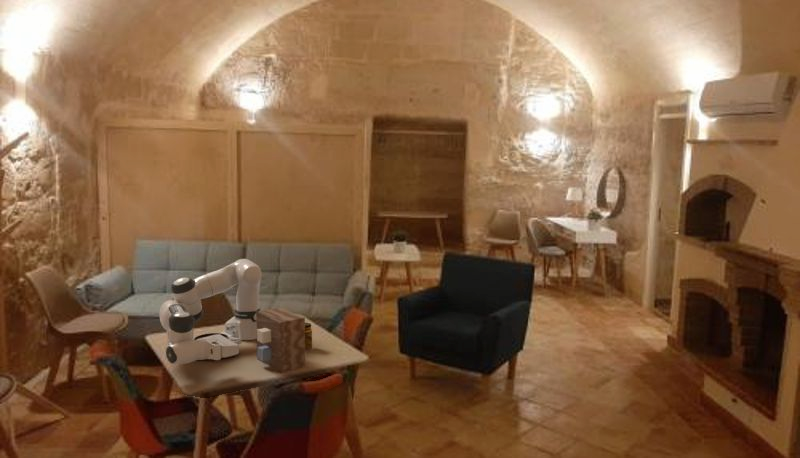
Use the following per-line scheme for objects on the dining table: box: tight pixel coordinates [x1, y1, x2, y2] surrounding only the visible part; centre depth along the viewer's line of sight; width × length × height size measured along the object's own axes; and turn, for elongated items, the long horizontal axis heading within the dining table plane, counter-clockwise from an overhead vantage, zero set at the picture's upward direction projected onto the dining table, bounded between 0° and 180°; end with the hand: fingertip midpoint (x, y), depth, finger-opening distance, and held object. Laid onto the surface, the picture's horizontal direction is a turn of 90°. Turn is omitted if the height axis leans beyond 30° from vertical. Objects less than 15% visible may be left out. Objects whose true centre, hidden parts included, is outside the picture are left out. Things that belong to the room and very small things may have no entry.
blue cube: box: [256, 345, 272, 362], centre depth 274 cm, size 5×5×5 cm
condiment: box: [305, 322, 316, 352], centre depth 298 cm, size 7×8×12 cm
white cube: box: [256, 328, 271, 343], centre depth 273 cm, size 5×5×5 cm
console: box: [256, 307, 306, 373], centre depth 278 cm, size 12×22×22 cm, turn 39°
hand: (239, 341), depth 265 cm, fingers closed
